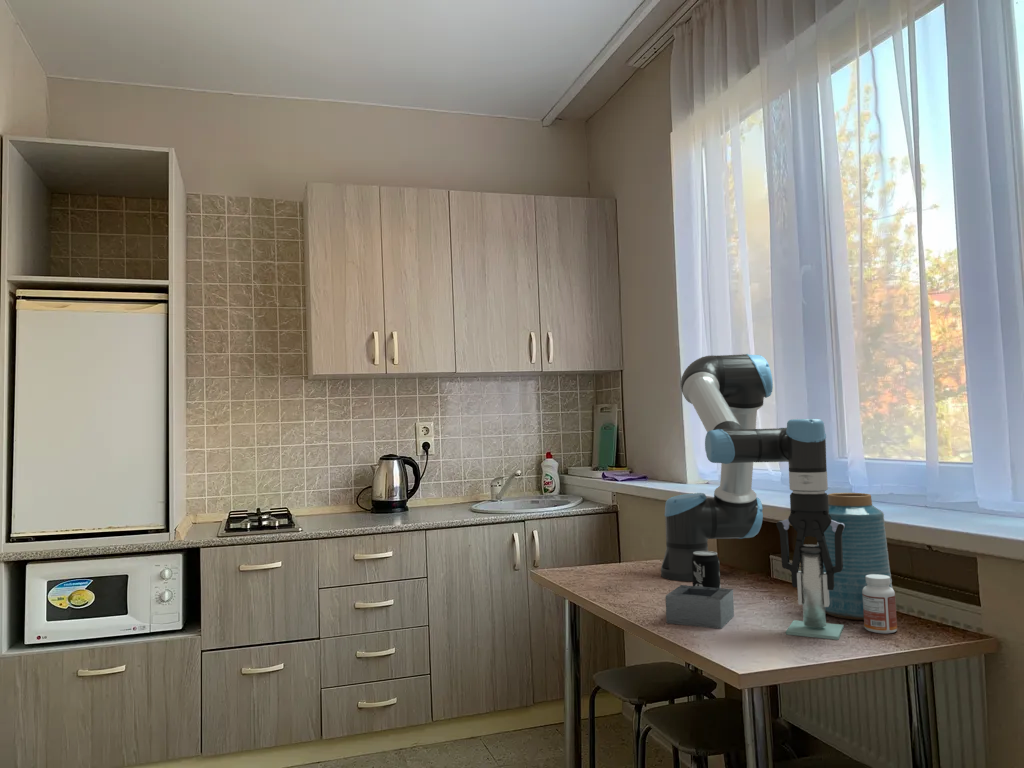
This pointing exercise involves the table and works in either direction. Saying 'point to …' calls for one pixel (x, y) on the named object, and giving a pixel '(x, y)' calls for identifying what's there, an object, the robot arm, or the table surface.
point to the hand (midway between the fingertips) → (813, 604)
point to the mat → (815, 630)
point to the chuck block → (700, 606)
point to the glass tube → (812, 585)
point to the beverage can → (705, 569)
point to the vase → (855, 551)
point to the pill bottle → (879, 605)
